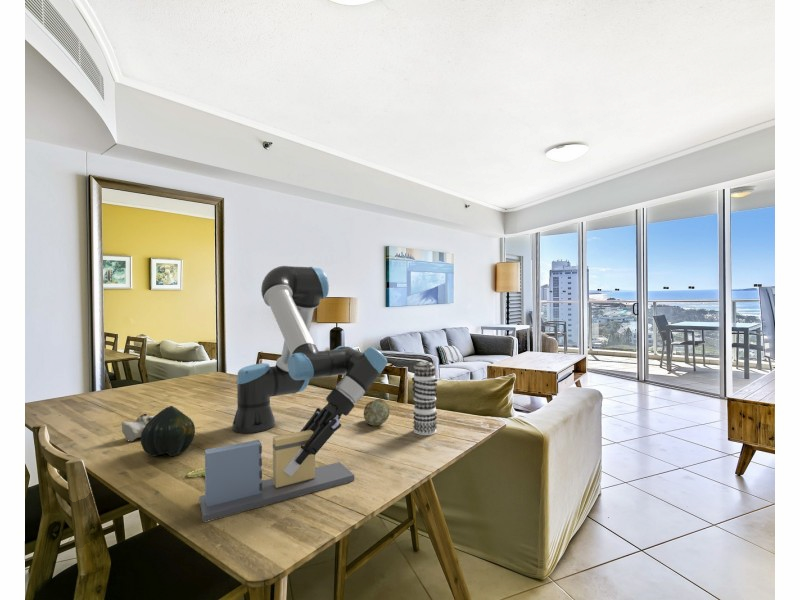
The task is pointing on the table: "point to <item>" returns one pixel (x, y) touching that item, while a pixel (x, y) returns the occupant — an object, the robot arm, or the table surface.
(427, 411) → the white patterned cylinder
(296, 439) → the tan cardboard parcel
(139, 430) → the ceramic sculpture
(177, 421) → the squash
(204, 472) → the key
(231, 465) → the blue square panel
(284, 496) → the base
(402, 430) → the table surface
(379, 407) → the seashell
